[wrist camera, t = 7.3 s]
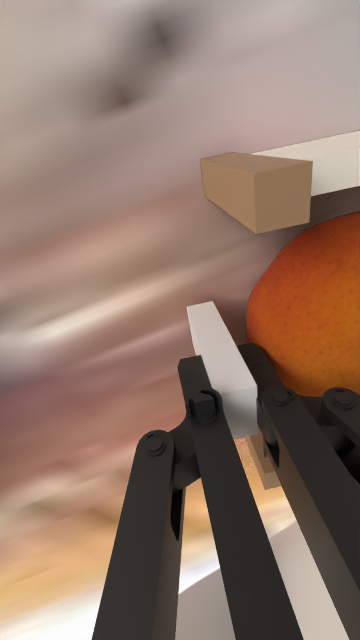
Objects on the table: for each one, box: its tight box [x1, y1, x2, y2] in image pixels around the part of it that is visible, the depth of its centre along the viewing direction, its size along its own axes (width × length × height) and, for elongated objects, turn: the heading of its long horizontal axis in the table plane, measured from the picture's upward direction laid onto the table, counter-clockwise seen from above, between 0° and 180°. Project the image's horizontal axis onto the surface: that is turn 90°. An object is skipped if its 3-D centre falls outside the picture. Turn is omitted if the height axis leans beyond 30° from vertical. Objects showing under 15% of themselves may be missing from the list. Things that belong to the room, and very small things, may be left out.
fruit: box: [247, 212, 360, 397], centre depth 15 cm, size 11×10×8 cm
